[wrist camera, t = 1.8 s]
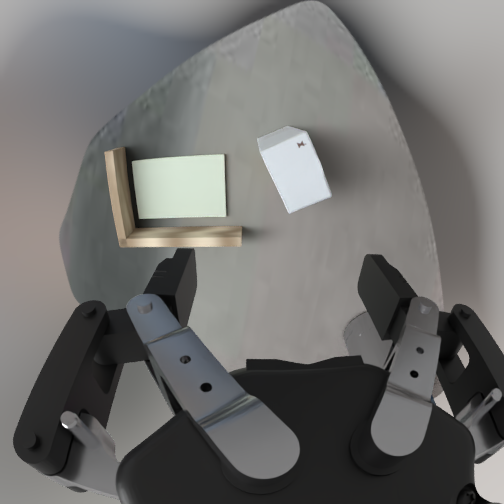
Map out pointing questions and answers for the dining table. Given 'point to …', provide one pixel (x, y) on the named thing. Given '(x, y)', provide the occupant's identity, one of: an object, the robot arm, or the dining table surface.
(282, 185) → the skincare box
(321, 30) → the dining table surface
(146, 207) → the mat
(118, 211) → the wooden angle bracket
